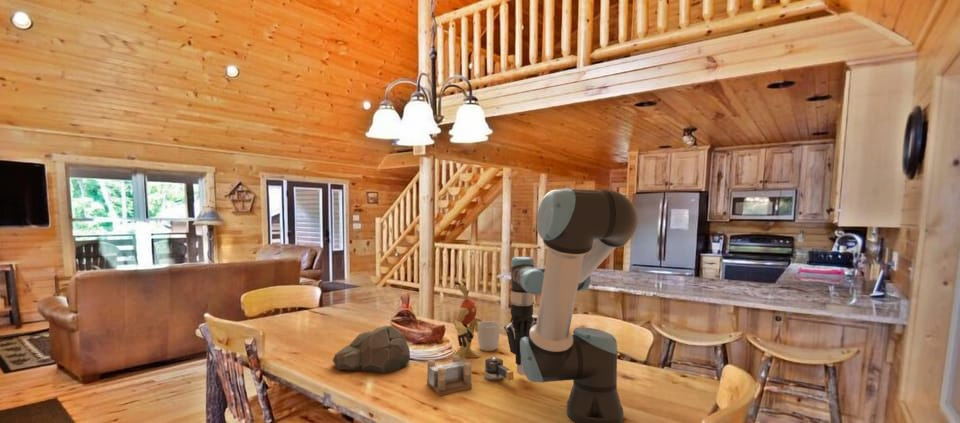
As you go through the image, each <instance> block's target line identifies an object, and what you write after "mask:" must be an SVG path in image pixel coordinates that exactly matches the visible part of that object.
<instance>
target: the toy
mask: <svg viewBox="0 0 960 423" xmlns="http://www.w3.org/2000/svg"><path fill="white" fill-rule="evenodd" d="M454 285H456V286H457V289H458V290H459V291H460V292H461V293H462V294H463V298H464V299H463V301H462V302H461V304H460V308H459V310H458V313H457V315H456V317H455V319H454V322H453V326H454V328H455V329H456V333H457V340H458V346H459V348H458V350H457V351H456V353H455V355H458V356H460V361H462V360H463V361H464V362H466V363H470V362H469V360H468V358H469V359H470V358H471V359H473V358H480V357H482V355H481V354H480V353H478V352H476V351H474V350H473V349H471V345H472V341H473V339H474V336H475V334H474V332H475V333H477V332H478V331H479V326H478V323H480V322H483V321H482V318H480V317H478V316H476V315H477V306H478V305H477V303H476V302H475V301H474V300H472V299H471V298H469V293H470V290H468V288H467V286H466V285H465V283H464V282H459V281H457V282H456V281H455V282H454Z"/></svg>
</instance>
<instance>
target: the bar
mask: <svg viewBox="0 0 960 423" xmlns="http://www.w3.org/2000/svg"><path fill="white" fill-rule="evenodd" d="M464 363H466V362H464V361H463V360H462V361H457V362H448V363H443V364H435V366H431V367H429V383H430V384H431V385H432V386H433V387H437V386H438V369H439V368H445V369H446V385H447V384H451V383H456V382H460V381H464Z"/></svg>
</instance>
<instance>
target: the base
mask: <svg viewBox="0 0 960 423" xmlns="http://www.w3.org/2000/svg"><path fill="white" fill-rule="evenodd" d="M484 378H485V379H486V380H488V381H493V382H496V381H497V382H498V381H501V380H503V379H504V377H503V376H501V375H499V374H498V373H497V374H492V373H488V372H486V371H485V370H484Z"/></svg>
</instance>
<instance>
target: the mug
mask: <svg viewBox="0 0 960 423" xmlns="http://www.w3.org/2000/svg"><path fill="white" fill-rule="evenodd" d="M478 326H479V331H478V332H476V333H477V334H476V335H477V341H478V342H477V343H478V346H479V348H480V350H482V351H485V352H493V351H495V350H497V348H498V346H499V343H500V342H499V341H500V334H501V333H500V323H498V322H496V321H489V320H486V321H481V322H478Z"/></svg>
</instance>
